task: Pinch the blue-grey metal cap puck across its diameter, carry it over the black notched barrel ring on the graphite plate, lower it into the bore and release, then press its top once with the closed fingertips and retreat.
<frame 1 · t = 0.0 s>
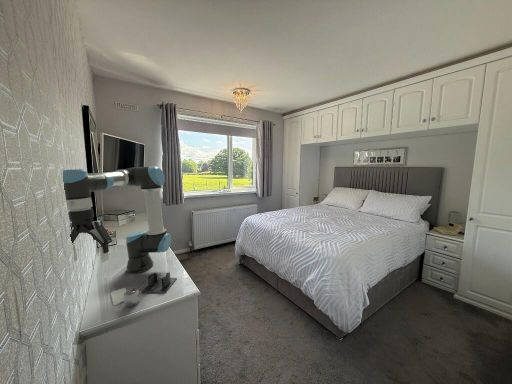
hand: (89, 261, 85), 28 cm above the dresser top, fingers open, 13 cm apart
cap: (132, 303, 101), on the dresser top
smartphone: (120, 297, 108), on the dresser top
lens barrel: (160, 285, 116), on the dresser top
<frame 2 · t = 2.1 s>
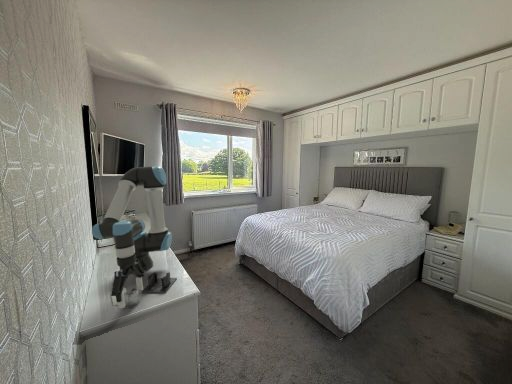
hand: (131, 298, 101), 3 cm above the dresser top, fingers open, 13 cm apart
nothing on the dresser top moved.
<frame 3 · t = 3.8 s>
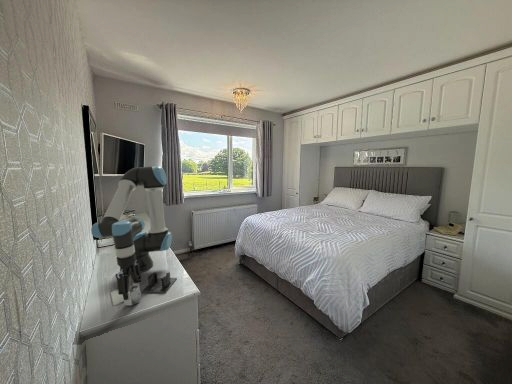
hand: (133, 299, 102), 2 cm above the dresser top, fingers closed on cap, 6 cm apart
cap: (133, 301, 102), point 1 cm above the dresser top, touching gripper
everything else where it was.
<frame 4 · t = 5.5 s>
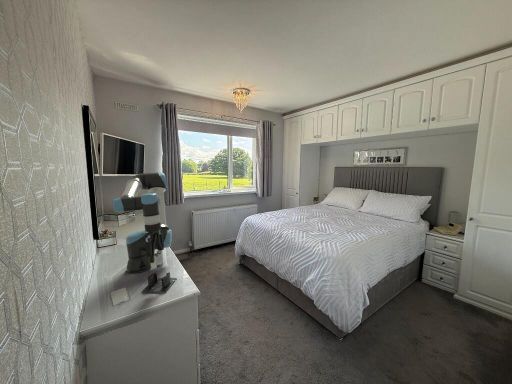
hand: (157, 264, 114), 12 cm above the dresser top, fingers closed on cap, 6 cm apart
cap: (157, 265, 114), point 12 cm above the dresser top, touching gripper
everything else where it was.
when the fingers open (1 cm above the dresser top, at t = 7.3 s): cap stays where it is, resting on lens barrel.
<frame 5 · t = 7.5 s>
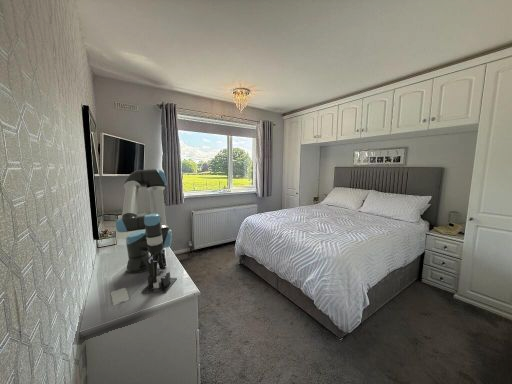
hand: (159, 284, 116), 1 cm above the dresser top, fingers open, 6 cm apart
cap: (159, 284, 116), point 1 cm above the dresser top, touching gripper, lens barrel
everything else where it was.
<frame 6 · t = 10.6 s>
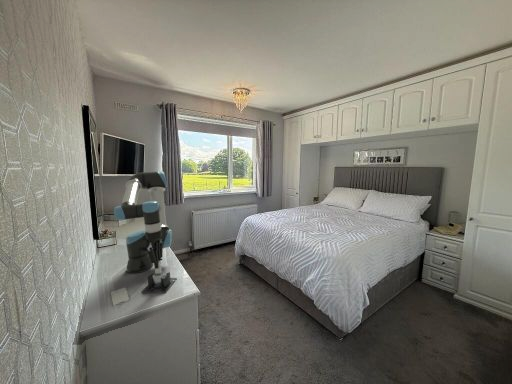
hand: (158, 272, 115), 7 cm above the dresser top, fingers closed
cap: (159, 284, 116), point 1 cm above the dresser top, touching lens barrel
everything else where it was.
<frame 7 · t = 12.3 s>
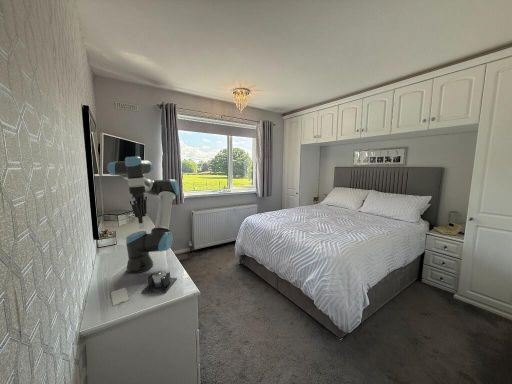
hand: (142, 228, 118), 31 cm above the dresser top, fingers closed
nothing on the dresser top moved.
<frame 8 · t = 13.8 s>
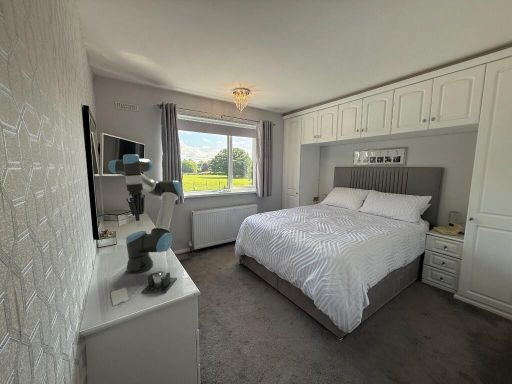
hand: (139, 226, 117), 32 cm above the dresser top, fingers closed
nothing on the dresser top moved.
at the end: cap 0.2 cm off-centre on the lens barrel, point 1.0 cm above the lens barrel's base; cap tilted 3°; the gripper is holding nothing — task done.
